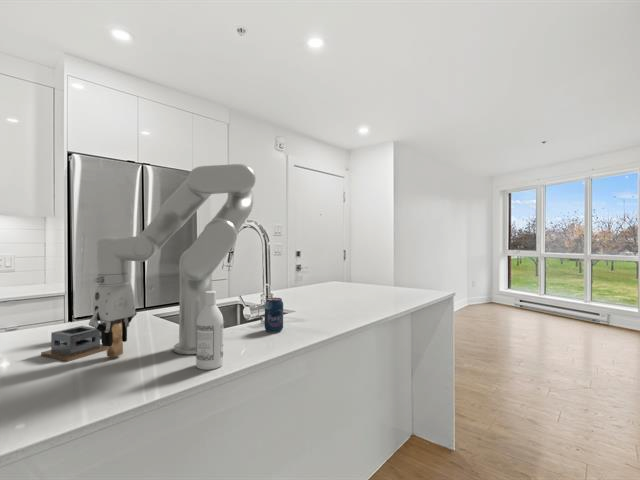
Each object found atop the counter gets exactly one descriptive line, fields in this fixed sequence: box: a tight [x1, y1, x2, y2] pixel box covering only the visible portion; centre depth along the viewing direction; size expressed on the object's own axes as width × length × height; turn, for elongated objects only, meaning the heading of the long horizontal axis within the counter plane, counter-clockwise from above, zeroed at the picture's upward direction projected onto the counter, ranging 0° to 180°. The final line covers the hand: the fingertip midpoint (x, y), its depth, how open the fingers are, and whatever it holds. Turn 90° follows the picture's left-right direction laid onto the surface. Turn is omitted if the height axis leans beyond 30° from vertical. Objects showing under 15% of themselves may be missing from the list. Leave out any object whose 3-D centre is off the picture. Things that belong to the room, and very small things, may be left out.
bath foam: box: [195, 290, 224, 371], centre depth 92 cm, size 7×7×20 cm
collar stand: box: [40, 325, 107, 362], centre depth 102 cm, size 12×12×6 cm
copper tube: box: [106, 319, 124, 357], centre depth 98 cm, size 4×4×11 cm
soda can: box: [264, 297, 284, 334], centre depth 128 cm, size 7×7×12 cm
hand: (114, 342), depth 98 cm, fingers closed on copper tube, 4 cm apart
